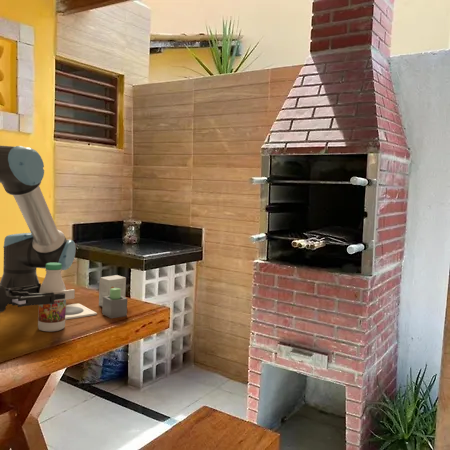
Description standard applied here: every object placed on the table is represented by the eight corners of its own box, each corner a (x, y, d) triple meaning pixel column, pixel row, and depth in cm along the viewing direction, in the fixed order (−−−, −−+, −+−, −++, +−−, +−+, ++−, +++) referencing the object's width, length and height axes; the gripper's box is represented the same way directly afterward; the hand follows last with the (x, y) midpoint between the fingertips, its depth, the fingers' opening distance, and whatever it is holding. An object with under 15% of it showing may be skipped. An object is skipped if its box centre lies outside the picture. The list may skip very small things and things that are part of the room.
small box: (115, 302, 174) (117, 274, 174) (125, 305, 171) (126, 277, 170) (98, 305, 168) (99, 277, 167) (107, 308, 165) (108, 280, 164)
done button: (107, 302, 158) (108, 288, 157) (117, 301, 160) (117, 287, 160) (112, 305, 155) (113, 290, 155) (122, 304, 158) (123, 289, 157)
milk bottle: (33, 326, 140) (35, 262, 139) (58, 322, 146) (60, 260, 144) (44, 334, 135) (46, 266, 133) (69, 329, 140) (71, 264, 139)
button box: (102, 313, 158) (103, 296, 158) (117, 311, 162) (118, 294, 162) (110, 318, 154) (111, 300, 153) (126, 315, 158) (127, 298, 157)
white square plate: (39, 310, 158) (39, 308, 158) (78, 304, 167) (78, 303, 167) (56, 321, 148) (56, 318, 147) (96, 314, 157) (96, 312, 157)
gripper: (-23, 304, 135) (54, 295, 151) (-1, 323, 120) (82, 310, 136) (-22, 279, 134) (55, 272, 150) (0, 294, 119) (83, 285, 135)
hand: (68, 290), depth 143 cm, fingers closed on milk bottle, 8 cm apart
